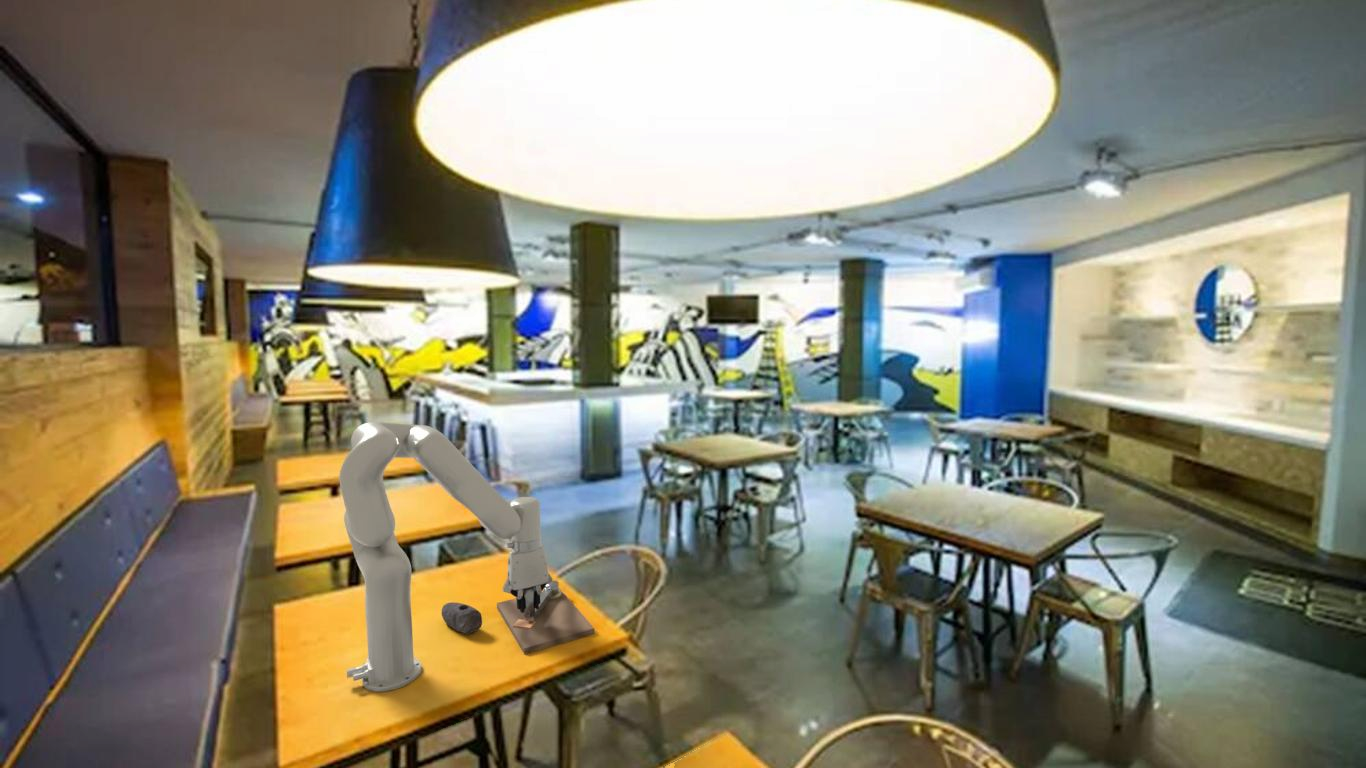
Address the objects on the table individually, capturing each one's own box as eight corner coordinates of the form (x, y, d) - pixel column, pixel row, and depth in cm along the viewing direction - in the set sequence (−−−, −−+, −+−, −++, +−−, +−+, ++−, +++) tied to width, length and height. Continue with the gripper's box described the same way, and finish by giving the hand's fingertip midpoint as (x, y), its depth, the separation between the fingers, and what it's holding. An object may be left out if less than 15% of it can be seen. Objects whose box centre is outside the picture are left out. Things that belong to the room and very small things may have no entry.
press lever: (519, 625, 160) (518, 584, 159) (546, 588, 181) (545, 552, 180) (535, 625, 159) (533, 585, 158) (560, 589, 181) (559, 553, 180)
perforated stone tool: (435, 623, 165) (434, 599, 164) (452, 616, 169) (451, 592, 169) (467, 640, 156) (466, 615, 156) (484, 632, 161) (483, 607, 160)
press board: (524, 654, 150) (524, 647, 150) (496, 608, 174) (496, 602, 174) (594, 633, 160) (594, 627, 160) (559, 592, 184) (559, 587, 183)
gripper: (498, 554, 151) (501, 623, 154) (560, 542, 160) (562, 607, 162) (491, 545, 158) (494, 610, 160) (552, 533, 166) (553, 596, 168)
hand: (528, 608), depth 161 cm, fingers closed on press lever, 3 cm apart
